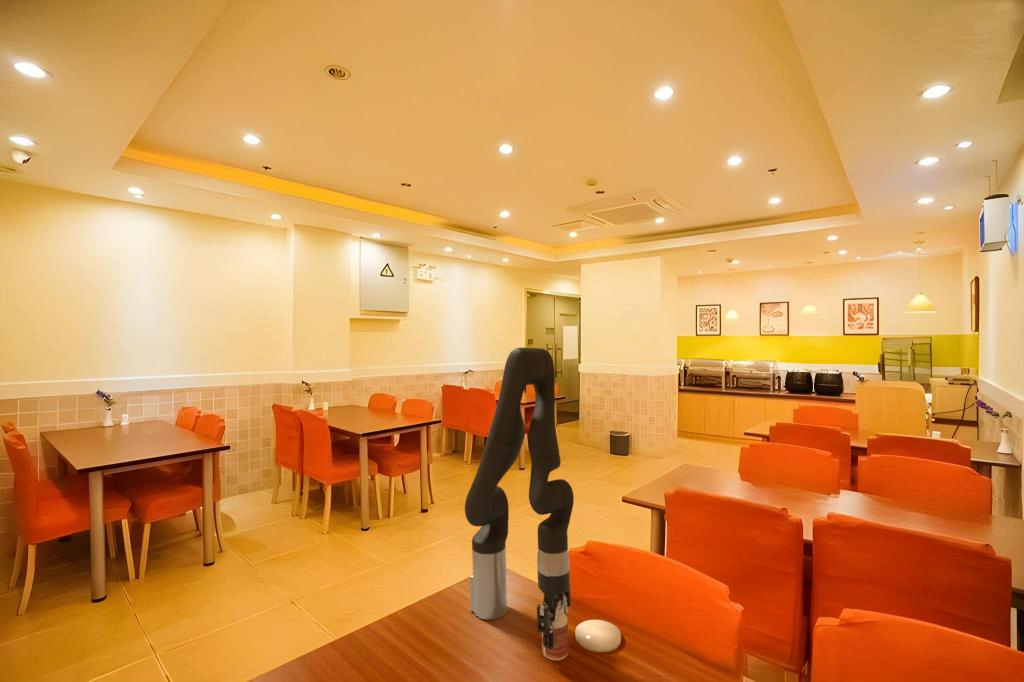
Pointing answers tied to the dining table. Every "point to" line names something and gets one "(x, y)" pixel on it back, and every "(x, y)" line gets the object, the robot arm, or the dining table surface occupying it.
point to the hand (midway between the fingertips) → (555, 637)
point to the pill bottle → (558, 637)
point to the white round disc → (598, 636)
